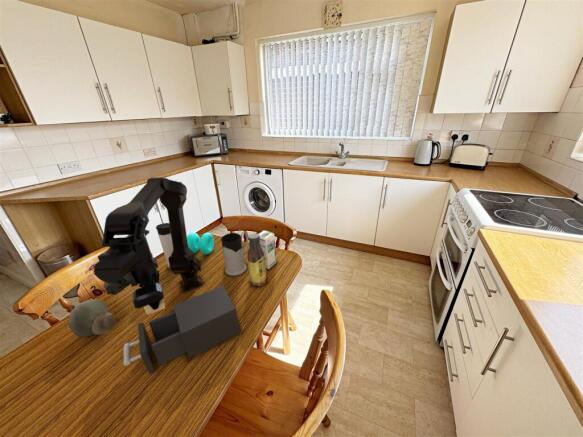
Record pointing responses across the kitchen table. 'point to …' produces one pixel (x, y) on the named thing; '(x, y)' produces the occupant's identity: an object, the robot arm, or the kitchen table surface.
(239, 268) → the grey black mug
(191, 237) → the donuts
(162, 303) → the block
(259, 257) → the sauce bottle
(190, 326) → the dark grey box
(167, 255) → the travel mug
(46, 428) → the kitchen table surface
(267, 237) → the syrup box
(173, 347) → the open drawer
